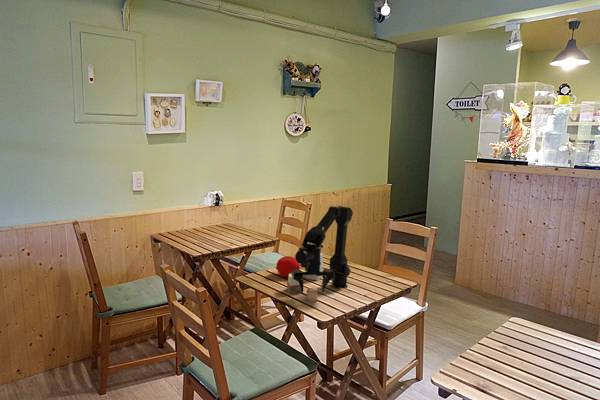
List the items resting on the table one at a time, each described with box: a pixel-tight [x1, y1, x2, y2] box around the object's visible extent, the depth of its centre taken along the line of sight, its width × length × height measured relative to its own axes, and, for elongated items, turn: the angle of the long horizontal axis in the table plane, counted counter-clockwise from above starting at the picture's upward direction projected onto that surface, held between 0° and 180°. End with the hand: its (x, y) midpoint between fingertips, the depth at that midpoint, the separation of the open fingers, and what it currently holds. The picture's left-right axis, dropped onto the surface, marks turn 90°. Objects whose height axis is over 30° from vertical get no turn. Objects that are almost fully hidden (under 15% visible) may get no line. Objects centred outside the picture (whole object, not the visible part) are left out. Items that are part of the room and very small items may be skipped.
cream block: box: [287, 274, 299, 286], centre depth 197 cm, size 5×5×4 cm
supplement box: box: [304, 252, 324, 281], centre depth 217 cm, size 7×7×13 cm
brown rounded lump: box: [305, 287, 319, 303], centre depth 188 cm, size 5×5×4 cm
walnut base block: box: [286, 281, 303, 295], centre depth 197 cm, size 6×6×4 cm
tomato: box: [275, 255, 301, 278], centre depth 218 cm, size 11×12×10 cm
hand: (312, 292), depth 188 cm, fingers open, 9 cm apart
